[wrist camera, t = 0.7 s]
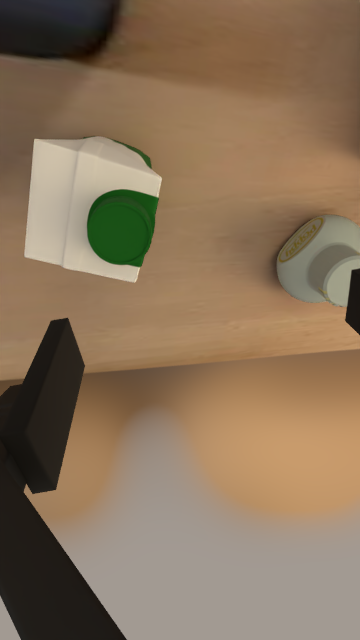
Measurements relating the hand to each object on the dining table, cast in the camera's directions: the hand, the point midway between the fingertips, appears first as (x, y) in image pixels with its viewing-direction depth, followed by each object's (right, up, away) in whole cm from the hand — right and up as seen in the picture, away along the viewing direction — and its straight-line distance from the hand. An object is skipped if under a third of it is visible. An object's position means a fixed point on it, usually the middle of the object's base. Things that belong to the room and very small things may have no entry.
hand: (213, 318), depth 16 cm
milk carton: (-9, +15, +22) cm, 29 cm away
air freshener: (+15, +9, +29) cm, 34 cm away
